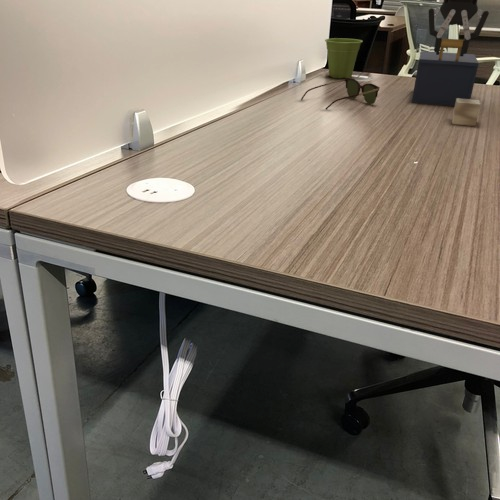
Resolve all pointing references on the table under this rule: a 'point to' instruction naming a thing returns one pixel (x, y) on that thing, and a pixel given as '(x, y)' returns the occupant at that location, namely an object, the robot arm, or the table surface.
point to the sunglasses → (355, 90)
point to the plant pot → (342, 56)
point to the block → (466, 112)
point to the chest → (443, 83)
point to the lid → (449, 55)
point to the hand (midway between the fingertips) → (449, 54)
